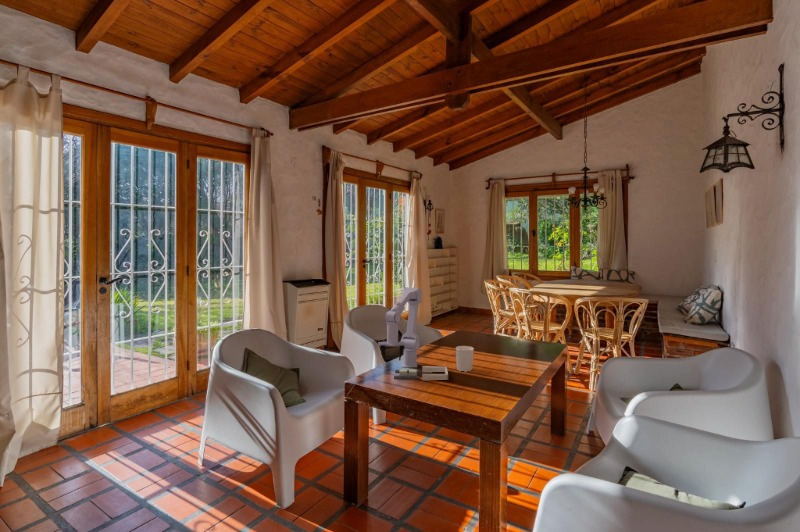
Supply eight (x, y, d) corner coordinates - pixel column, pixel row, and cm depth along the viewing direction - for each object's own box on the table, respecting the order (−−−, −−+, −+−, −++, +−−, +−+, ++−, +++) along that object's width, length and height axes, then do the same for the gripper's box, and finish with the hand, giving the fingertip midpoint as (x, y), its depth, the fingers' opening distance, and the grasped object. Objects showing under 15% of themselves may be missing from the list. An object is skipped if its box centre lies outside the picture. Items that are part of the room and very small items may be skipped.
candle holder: (452, 368, 237) (452, 346, 236) (467, 366, 240) (468, 345, 240) (460, 373, 228) (461, 351, 227) (476, 371, 231) (477, 349, 231)
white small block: (399, 374, 226) (399, 369, 226) (407, 374, 226) (407, 369, 226) (399, 377, 222) (399, 371, 222) (406, 377, 222) (406, 371, 222)
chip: (409, 374, 226) (409, 369, 226) (416, 374, 226) (416, 369, 225) (408, 377, 222) (408, 371, 222) (416, 377, 222) (416, 371, 221)
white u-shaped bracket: (422, 371, 230) (422, 366, 230) (446, 372, 230) (446, 366, 230) (422, 380, 216) (422, 374, 216) (448, 380, 216) (448, 375, 216)
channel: (395, 371, 230) (395, 369, 230) (419, 372, 229) (419, 370, 229) (393, 379, 218) (393, 376, 218) (419, 379, 218) (419, 377, 217)
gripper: (378, 335, 217) (378, 362, 218) (406, 336, 217) (406, 362, 218) (378, 332, 224) (378, 358, 225) (406, 333, 224) (406, 358, 225)
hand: (392, 360), depth 222 cm, fingers open, 7 cm apart
